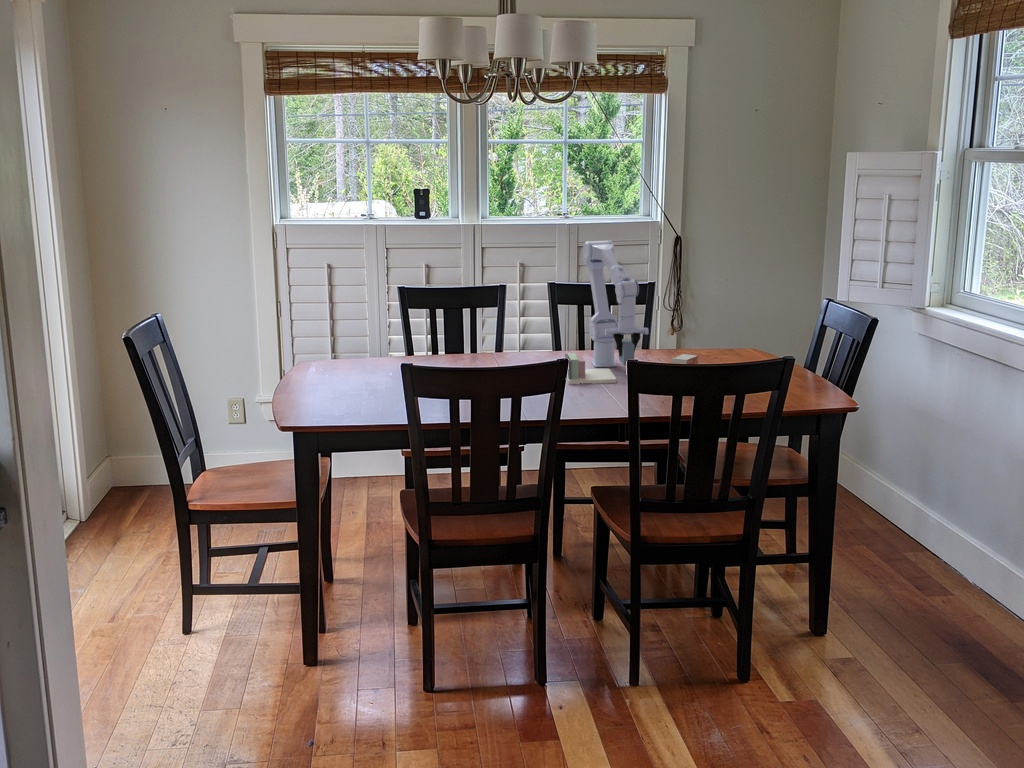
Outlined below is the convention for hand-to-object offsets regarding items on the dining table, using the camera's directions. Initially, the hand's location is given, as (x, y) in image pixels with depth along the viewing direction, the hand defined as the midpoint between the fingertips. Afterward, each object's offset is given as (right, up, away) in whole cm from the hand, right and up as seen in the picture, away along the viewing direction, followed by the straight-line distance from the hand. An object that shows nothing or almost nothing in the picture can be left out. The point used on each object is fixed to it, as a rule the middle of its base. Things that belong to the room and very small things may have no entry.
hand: (626, 355), depth 334 cm
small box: (+16, -11, -18) cm, 27 cm away
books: (-17, -7, -2) cm, 18 cm away
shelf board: (-13, -8, -1) cm, 15 cm away
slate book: (0, -2, 0) cm, 2 cm away
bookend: (-20, -7, -2) cm, 21 cm away
